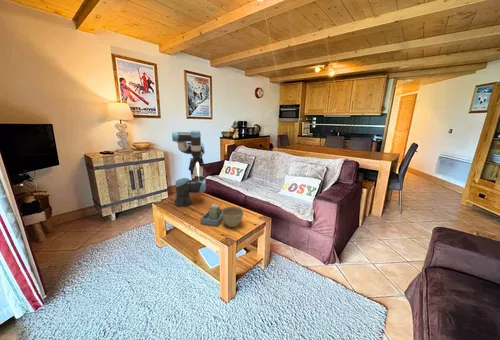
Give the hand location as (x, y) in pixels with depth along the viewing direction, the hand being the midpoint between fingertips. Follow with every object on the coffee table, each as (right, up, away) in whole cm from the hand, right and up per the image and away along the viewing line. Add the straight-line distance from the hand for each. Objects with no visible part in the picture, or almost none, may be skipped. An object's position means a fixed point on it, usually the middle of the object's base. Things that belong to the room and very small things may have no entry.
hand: (197, 176), depth 166 cm
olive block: (+16, -33, -7) cm, 37 cm away
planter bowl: (+30, -36, -13) cm, 49 cm away
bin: (+16, -34, -7) cm, 38 cm away
